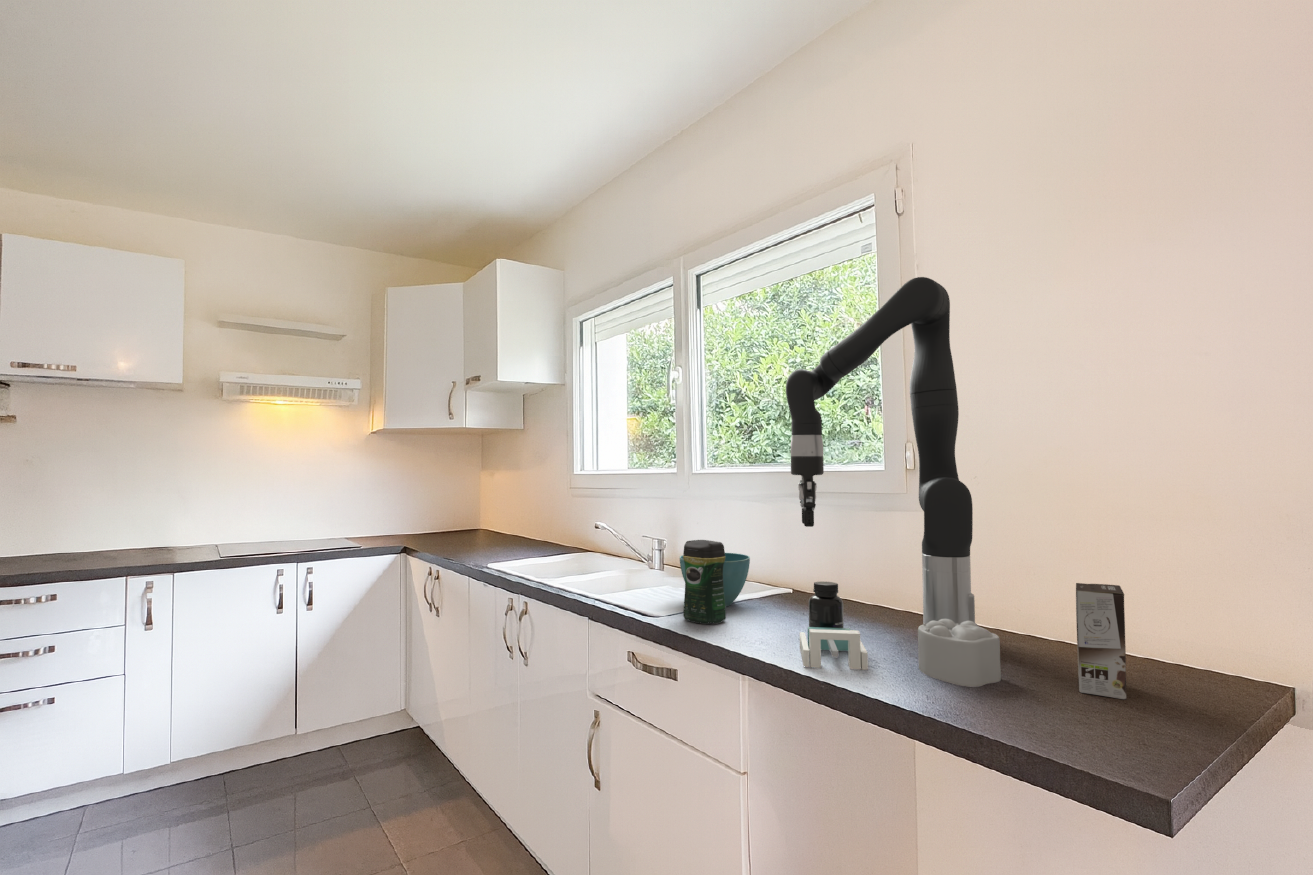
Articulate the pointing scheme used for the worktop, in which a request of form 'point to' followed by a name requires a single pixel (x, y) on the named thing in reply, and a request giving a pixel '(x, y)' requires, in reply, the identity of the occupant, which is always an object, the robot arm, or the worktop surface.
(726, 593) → the teal bowl
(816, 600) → the supplement bottle
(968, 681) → the lumpy-topped squat cylinder
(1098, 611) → the coffee box
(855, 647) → the white stand with panel
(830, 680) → the worktop surface
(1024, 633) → the worktop surface
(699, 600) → the coffee jar
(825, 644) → the pusher
